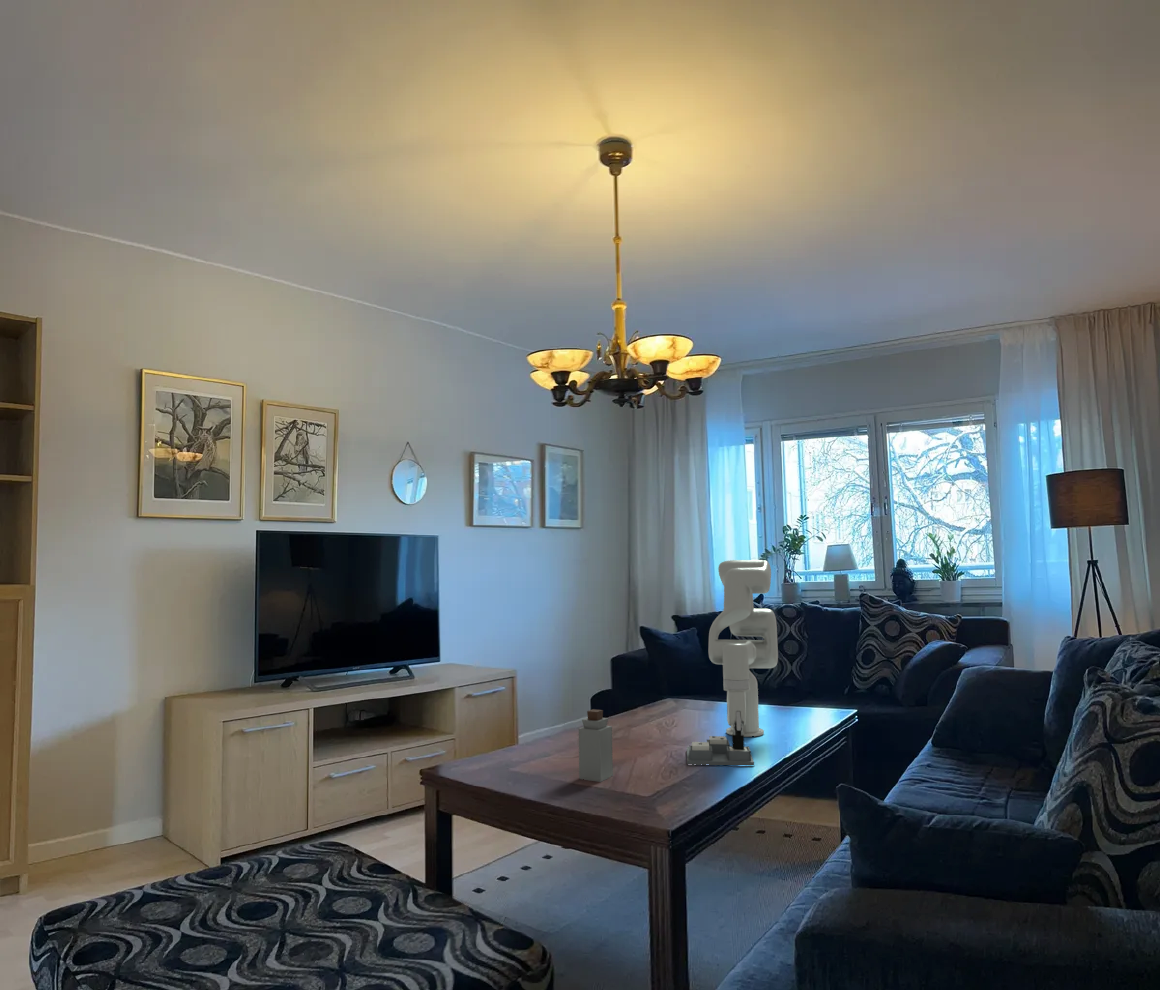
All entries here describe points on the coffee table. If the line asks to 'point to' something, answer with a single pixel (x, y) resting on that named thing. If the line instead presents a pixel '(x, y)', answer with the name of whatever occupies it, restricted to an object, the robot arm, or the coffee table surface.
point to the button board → (719, 755)
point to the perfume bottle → (595, 748)
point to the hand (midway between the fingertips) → (738, 748)
